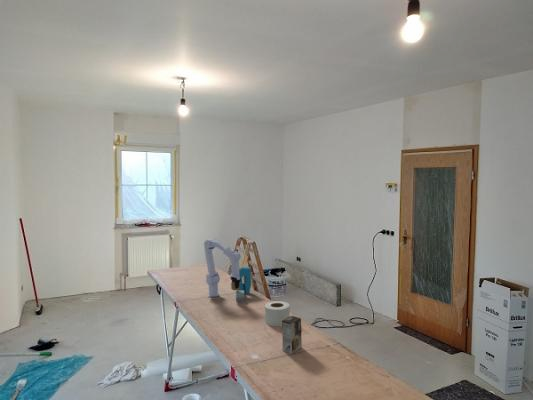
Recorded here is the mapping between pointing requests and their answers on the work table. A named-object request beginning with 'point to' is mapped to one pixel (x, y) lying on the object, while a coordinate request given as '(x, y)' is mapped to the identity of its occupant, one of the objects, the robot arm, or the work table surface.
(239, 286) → the walnut cube
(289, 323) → the coffee box
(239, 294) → the tower middle
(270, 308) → the roll of tape
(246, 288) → the block
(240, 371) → the work table surface
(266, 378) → the work table surface
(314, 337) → the work table surface
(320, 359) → the work table surface
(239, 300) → the tower base
